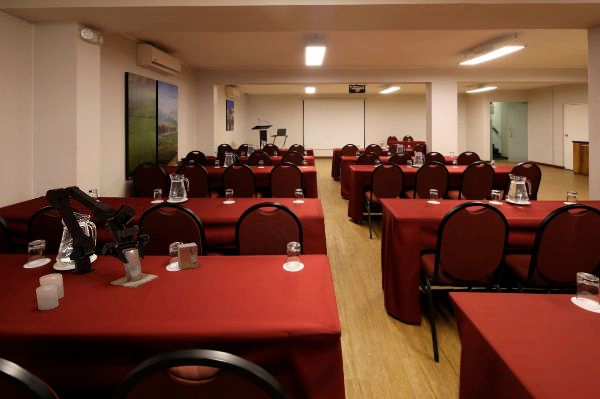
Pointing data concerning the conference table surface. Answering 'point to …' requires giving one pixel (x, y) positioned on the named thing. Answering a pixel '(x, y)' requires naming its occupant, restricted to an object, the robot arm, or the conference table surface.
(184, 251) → the small box
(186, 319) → the conference table surface
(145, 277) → the beige square tile
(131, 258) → the steel flask
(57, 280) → the beige rounded block
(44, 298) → the white squat cylinder
